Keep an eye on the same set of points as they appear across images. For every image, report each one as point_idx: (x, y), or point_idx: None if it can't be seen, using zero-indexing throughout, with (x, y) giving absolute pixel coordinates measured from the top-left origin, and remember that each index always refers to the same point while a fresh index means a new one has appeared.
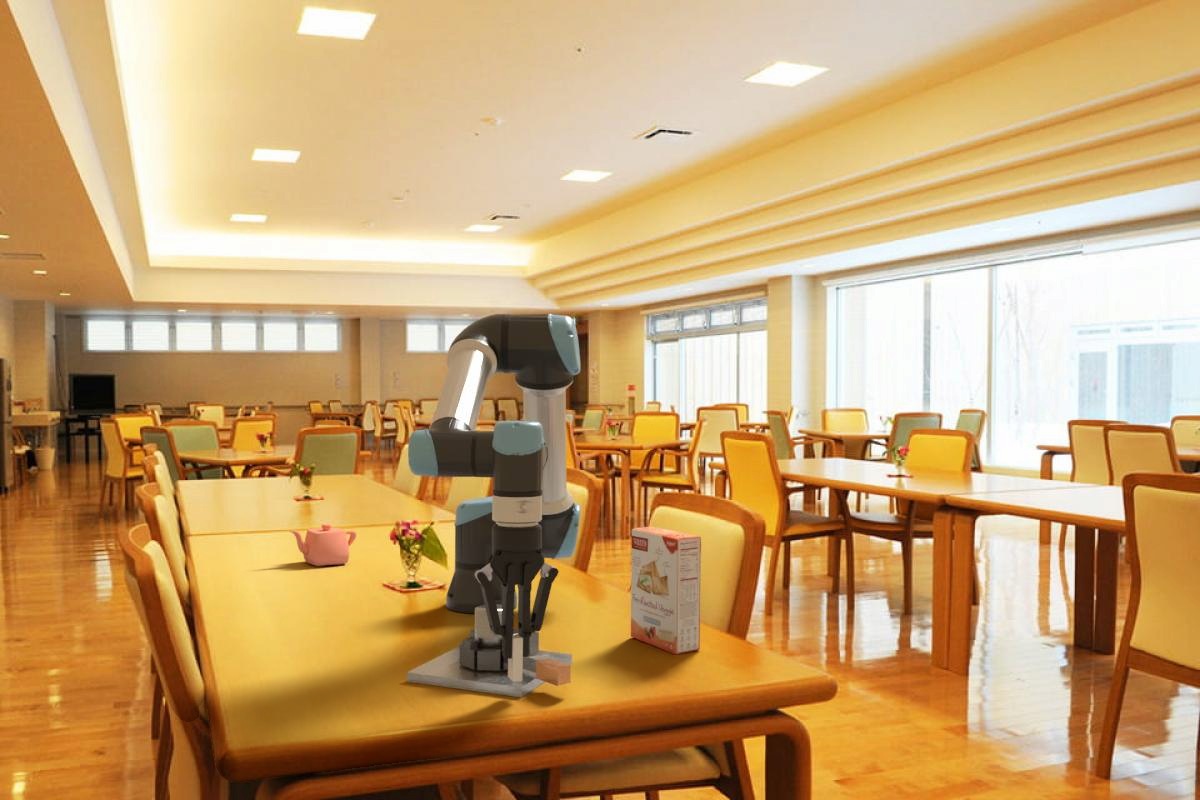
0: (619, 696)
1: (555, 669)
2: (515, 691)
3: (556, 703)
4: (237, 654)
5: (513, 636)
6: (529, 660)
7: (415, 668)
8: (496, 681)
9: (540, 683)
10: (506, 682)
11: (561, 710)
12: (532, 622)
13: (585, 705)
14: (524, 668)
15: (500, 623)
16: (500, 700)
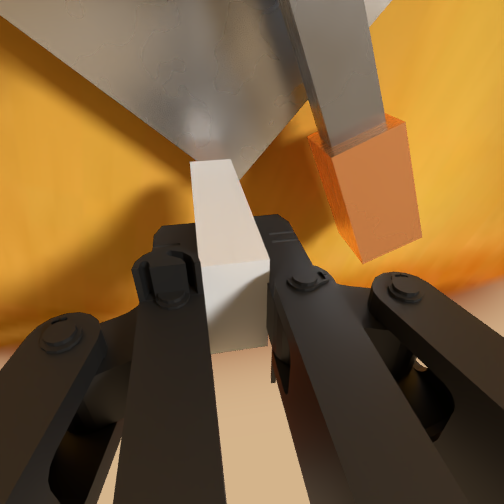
0: (471, 224)
1: (357, 251)
2: None
3: (307, 241)
4: None
5: (220, 317)
6: (334, 37)
7: None
8: (148, 80)
9: None
10: (190, 110)
11: None
12: (384, 354)
13: (364, 266)
14: (293, 47)
15: (108, 471)
16: (155, 183)
